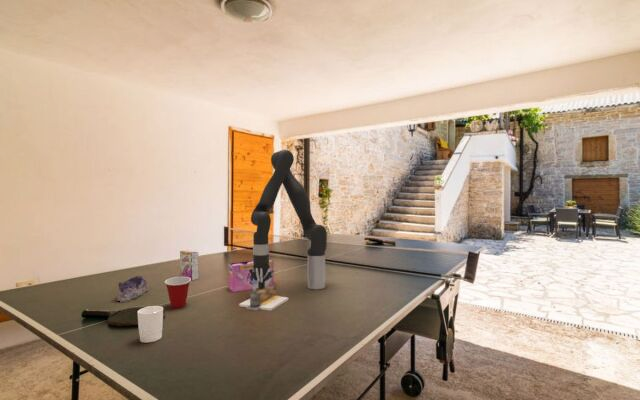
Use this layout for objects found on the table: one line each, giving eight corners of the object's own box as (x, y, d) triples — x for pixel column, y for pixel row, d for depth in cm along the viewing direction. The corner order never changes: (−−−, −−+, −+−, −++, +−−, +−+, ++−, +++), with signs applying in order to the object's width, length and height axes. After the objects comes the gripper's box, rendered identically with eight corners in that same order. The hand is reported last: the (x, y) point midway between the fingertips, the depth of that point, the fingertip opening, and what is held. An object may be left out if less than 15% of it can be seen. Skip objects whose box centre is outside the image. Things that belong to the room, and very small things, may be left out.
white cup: (144, 334, 119) (143, 306, 119) (167, 333, 119) (166, 305, 119) (133, 344, 111) (133, 314, 111) (158, 343, 112) (157, 313, 111)
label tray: (259, 296, 163) (259, 293, 163) (288, 299, 157) (288, 296, 157) (235, 308, 146) (235, 305, 146) (267, 312, 140) (267, 309, 140)
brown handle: (270, 294, 161) (270, 279, 161) (277, 294, 160) (277, 280, 160) (248, 305, 144) (248, 289, 144) (255, 306, 143) (255, 290, 143)
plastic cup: (165, 312, 141) (165, 283, 141) (164, 304, 151) (163, 278, 151) (193, 308, 146) (192, 280, 146) (190, 301, 156) (189, 275, 156)
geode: (139, 302, 156) (135, 281, 155) (112, 307, 154) (108, 285, 153) (152, 288, 176) (149, 269, 175) (129, 292, 174) (125, 273, 173)
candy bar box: (179, 278, 199) (179, 250, 198) (187, 276, 203) (186, 249, 203) (191, 281, 193) (191, 252, 192) (199, 279, 197) (198, 251, 197)
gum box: (270, 282, 189) (269, 258, 189) (276, 285, 182) (276, 260, 182) (228, 289, 176) (227, 263, 176) (233, 292, 169) (232, 265, 169)
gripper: (277, 252, 161) (277, 288, 161) (253, 251, 166) (254, 286, 166) (268, 255, 154) (269, 293, 154) (244, 253, 159) (245, 290, 159)
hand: (261, 289), depth 160 cm, fingers closed
